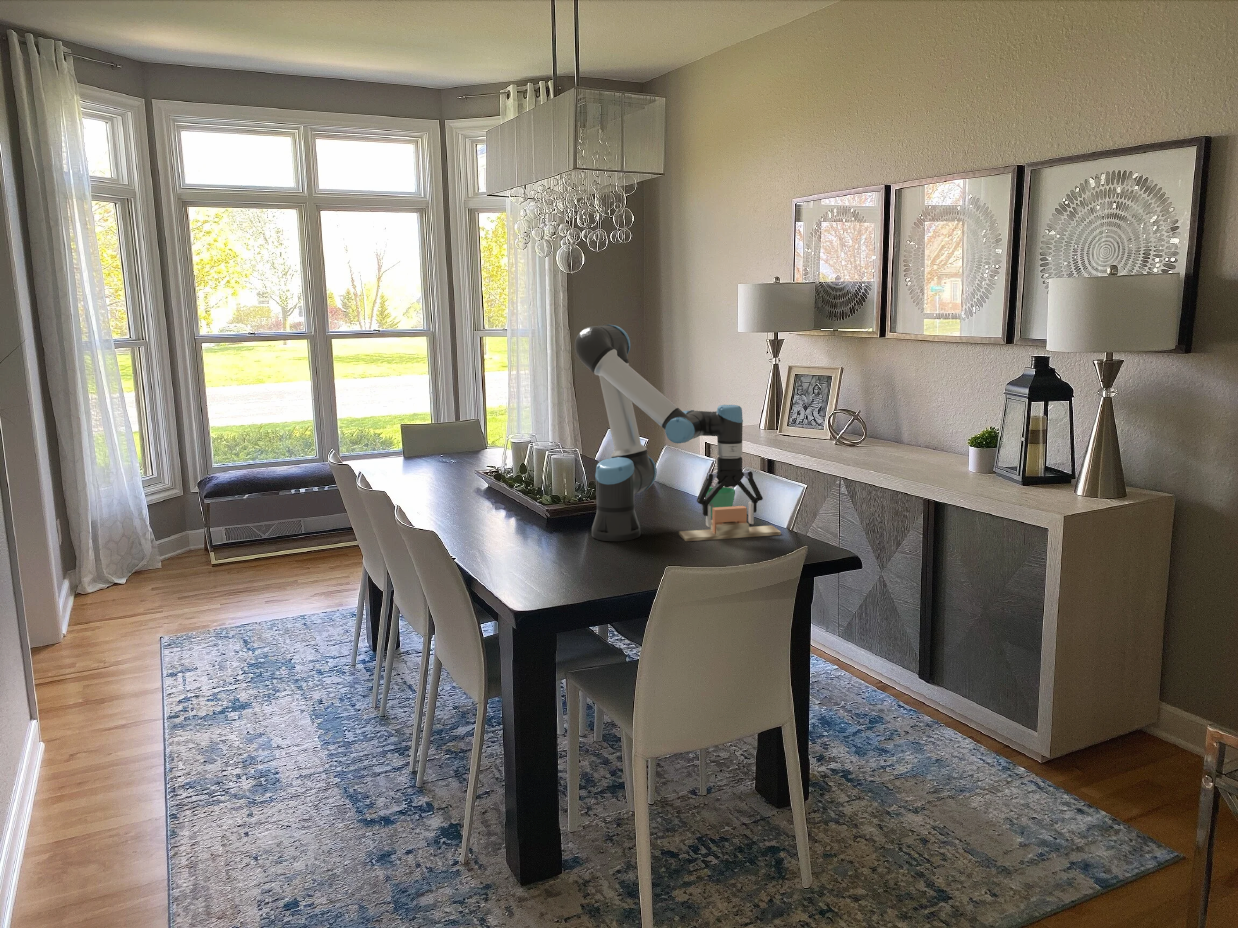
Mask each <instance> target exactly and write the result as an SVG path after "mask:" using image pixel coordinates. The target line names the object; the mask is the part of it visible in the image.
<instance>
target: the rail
mask: <svg viewBox="0 0 1238 928" xmlns="http://www.w3.org/2000/svg"><path fill="white" fill-rule="evenodd" d="M781 533H782V531H780V530H779V529H778V528H777V527H775V526H774V525H771V524H770V525H759V526H758V525H757V526H750V523H749V522H746V523H737V522H736V521H734V522H722V524H718V525H716V534H715V533H714V532H713V520H712V519H711V527H710V529H698V530H696V529H695V530H683V531H682V530H681V531H678V535H679V536H680V537H681V538H682V540H684V542H692V541H693V542H694V541H708V540H709V541H710V540H727V539H738V538H740V539H741V538H754V537H757V538H758V537H769V536H781V535H782V534H781Z"/></svg>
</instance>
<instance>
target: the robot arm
mask: <svg viewBox="0 0 1238 928" xmlns="http://www.w3.org/2000/svg"><path fill="white" fill-rule="evenodd" d="M630 350H631V339H630V337H629V335H628V333H627V332H626V330H624V329H623V328H622V327H620V326H618V325H614V324H603V325H593V326H587V327H585V328H583V329H582V330H581V331H579V333H578V334H577V336H576V338H575V341H574V351H575V355H576V356H577V359H579V360H580V362H581V364H583V365H584V366H585V367H586V368H587V369H588V370H589V371H590V372H592V373H593V374H594V375H595V376H598V378H599V382H600V386H601V393H602V397H603V401H604V406H605V410H606V411H605V412H606V416H607V420H608V423H609V425H608V426H609V428H610V433H611V438H612V443H613V447H614V448H613V449H614V450H613V452H612V453H611V455H610V458H606V459H603V460H601V461H600V462H598V463H597V464H596V467H595V474H594V476H595V488H596V489H595V490H596V491H595V493H596V514H595V517H594V519H593V523H592V526H591V537H592V538H593V539H595V540H598V541H604V542H625V541H631V540H634V539H637V538H639V537H641V533H642V532H641V530H642V529H641V526H640V523H639V519H638V516H637V513H636V511H635V495H637V494H639V493H643V492H645V491H647V490H648V489H649V488H650V487H651V486H652V485H653V484H654V482H655V481H656V480H657V479H656V478H657V475H658V474H657V473H658V469H657V464H656V463H655V461H654V459H653V458H652V457H650V456H649V453H648V448H647V447H645V446H644V445H643V444H642V443H641V438H640V433H639V428H638V423H637V419H636V413H635V410H634V405H635V406H636V407H638V408H639V409H640V410H641V411H642V412H644V413H645V414H646V415H647V416H648V417H650V418H651V420H653V421H654V422H655V423H656V424H658V426H659V427H661V428H662V429H664V433H665V435H666V437H667V439H668V440H669V441H670V442H671V443H673V444H683V443H684V444H685V443H688V442H690V441H691V440H693V439H696V438H698V437H703V436H704V437H717V440H716V441H717V443H716V444H717V452H716V453H717V456H718V457H717V461H716V462H717V465H716V467H717V472H716V473H712V472H710V471H709V472H707V473H706V480H705V482H704V484H703V486H702V488H701V490H700V492H699V494H698V496H697V498H696V503H697V504H699V505H702V515H703V516H704V517H705V526H707V527H708V528H711V520H712V517H711V506H710V505H709V503H710V502H711V501H712V499H713V498H714V497H715V495H716V494H717V493H718V492H719V490H720V489H722V488H723V487H727V488H731V487H733V488H736V487H737V486H738V488H740V489H741V491H742V492H743V493H744V494H745V495H746V496H747V498H748V499H749V500H750V501H748V511H747V513H748V517H747V518H748V519H747V521H748V522H747V523H748V524H749V525H750V524H751V525H754V523H755V520H754V519H755V517H754V516H755V515H754V514H756V513H757V508H758V507H757V504H758V503H759V502H760V501H763V500H764V498H763V496H762V494H761V491H760V490H759V488H758V485H757V484H756V481H755V479H754V473H753V472H752V470H749V469H747V470H746V471H743V457H742V455H743V427H744V426H743V424H744V419H743V408H742V407H741V406H740V405H737V404H721V405H718V406H717V410H716V411H708V410H707V411H706V410H704V411H703V410H694V409H690V410H681V409H680V408H679V407H678V406H677V405H676V404H675V403H674V402H672V401H671V400H670V399H669V398H668V397H666V396H665V395H664V394H663V393H662V392H661V391H660V390H658V389H657V388H656V387H655V386H653V385H652V384H651V383H650V382H649V381H648V380H646V379H645V378H644V377H643V376H642V375H641V374H640V373H638V372H637V371H636V370H635V369H633V368H632V366H630V362H629V357H628V355H629V352H630ZM633 404H634V405H633ZM743 478H746V479H747V482H748V483H749V485H750V487H751V489H752V491H753V493H754V495H755V496H754V495H753V494H752V493H751V491H750V490H749V488H747V487H746V486H745V485H744V483H743V482H742V479H743ZM715 479H717V480H718V481H716V483H715V485H714V486H713V487H714V488H713V487H712V484H713V481H715ZM710 487H712V488H713V489H712V490H711V491H710V493H709V494H708V495H707V496H706V494H707V492H708V490H709V488H710ZM705 496H706V498H705Z"/></svg>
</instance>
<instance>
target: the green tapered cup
mask: <svg viewBox="0 0 1238 928" xmlns="http://www.w3.org/2000/svg"><path fill="white" fill-rule="evenodd" d="M713 488H714V486H713V487H712V486H710V488H709V490H708V492H707V494H706V496H707V495H708V494H709V493H710V491H711V490H712V489H713ZM735 495H736V489H734V488H731V487H724V486H723V488H722V489H720V490H719V492H718V493H717V494H716V495H715V497H714V498H713V499H712V501H711V502H710V503H709V505H710V506H711V518H712V508H716V507H732V506H734V500H735ZM706 496H705V498H706ZM705 498H704V499H705Z"/></svg>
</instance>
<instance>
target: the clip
mask: <svg viewBox="0 0 1238 928" xmlns="http://www.w3.org/2000/svg"><path fill="white" fill-rule="evenodd" d="M747 509H748V508H747V507H746V506H744V505H737V506H734V505H733V506H732V507H716V508H712V517H711V520H713V532H714V533H715V534H716V525H718V524H722V522H734V521H736V522H737V523H747V521H748V519H747V518H748V517H747V513H748V511H747Z"/></svg>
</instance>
